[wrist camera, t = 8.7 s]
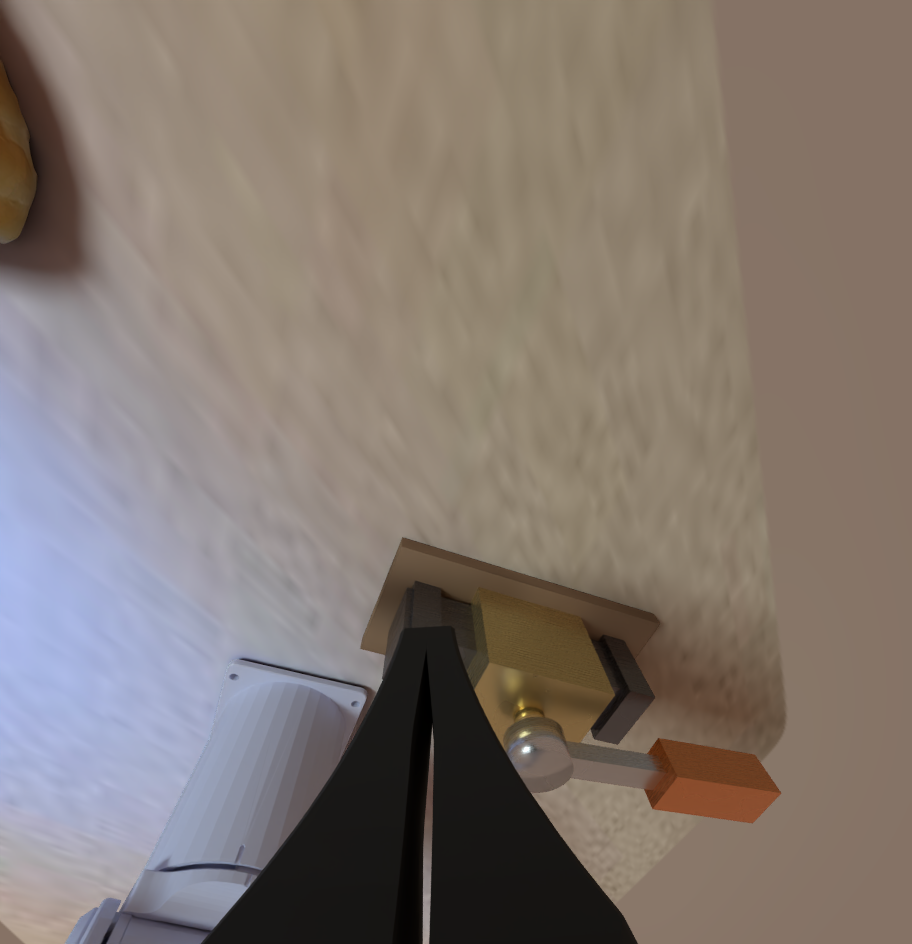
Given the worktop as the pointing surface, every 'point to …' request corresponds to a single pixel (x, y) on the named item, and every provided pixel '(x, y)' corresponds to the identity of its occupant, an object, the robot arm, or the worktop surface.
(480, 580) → the plank
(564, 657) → the valve
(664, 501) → the worktop surface
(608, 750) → the lever
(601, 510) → the worktop surface
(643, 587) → the worktop surface
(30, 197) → the pastry
